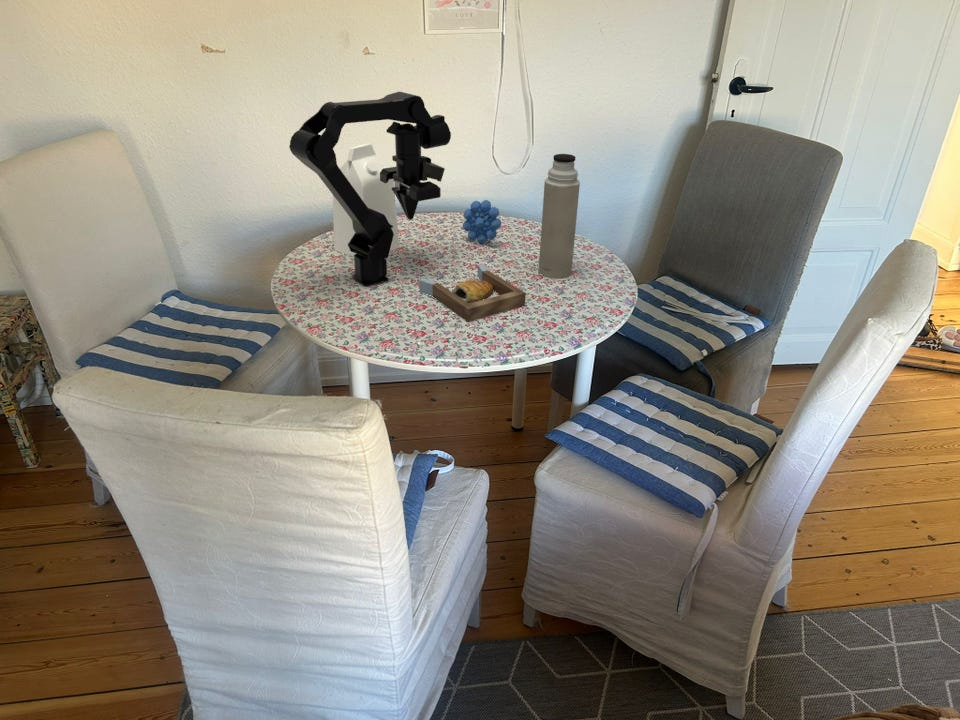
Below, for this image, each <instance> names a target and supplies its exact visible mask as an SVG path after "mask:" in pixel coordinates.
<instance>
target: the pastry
mask: <svg viewBox="0 0 960 720" xmlns="http://www.w3.org/2000/svg"><path fill="white" fill-rule="evenodd" d="M451 292H452V293H454V294H455V295H457V296H458V297H460V298H461V299H463V300H464V301H466V302H467V303H468V304H470V303H474V302H477V301H481V300H483V299H484V300H485V298H486V299H488V298H489V297H490V296H491V295H492V294H493V286H492V285H491V284H490V283H488V282H487V281H480V279H478V280H477V279H475V280H473V279H472V280H467V279H466V280H465V281H462V282H458V283H457V284H456V285H455V287H454V288H453V290H452V291H451ZM488 296H489V297H488Z"/></svg>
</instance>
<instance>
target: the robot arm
mask: <svg viewBox="0 0 960 720" xmlns="http://www.w3.org/2000/svg"><path fill="white" fill-rule="evenodd" d="M445 119H446V118H445V115H442V114H441V115H440V114H436V115H433V116H431V115H430V113H429V111H428V110H427V108H426V107H425V102H424V100H423V98H422V97H421V96H419V95H416V94H411V93H407V92H403V91H395V92H393V93H390V94H386V95H385V96H383V97H382V98H379V99H368V100H367V99H366V100H355V101H342V102H341V101H340V102H333V101H328V102H325V103H324V104H323V105H321V107H320V108H319V110H318V111H317V112H316V113H315V114H314V115H311V117H310V118H308V119H307V120H306V121H304V122H303V124H302V125H301V127H300V128H299V129H298V130H296V131H295V132H294V133H293V135H292V136H291V137H290V140H289V147H288V148H289V149H290V152H291V154H292V155H293V156H294V157H295V158H296V159H297V160H298V161H300V162H301V163H302V164H303V165H304V166H306V167H307V168H308V169H310V170H311V171H313V173H315V174H316V175H317V176H318V177H319V179H320V180H321V181H322V183H323V184H324V185H325V186H326V187H327V190H329V191H330V193H331V195H332V197H333V196H334V197H335V198H336V199H337V201H338V202H339V203H340V205H341V206H342V207H343V209H344V210H345V211H346V213H347V214H348V215H349V217H350V218H351V219H352V223H353V229H354V231H355V234H354V236H353V237H352V239H351V240H350V242H349V243H348V247H349V249H350V251H351V252H354V253H356V254H355V255H354V257H353V260H354V262H353V263H354V274H352V278H353V279H354V280H355V281H356V282H358V283H359V284H360V285H361V286H363V287H368V286H373V285H377V284H381V283H385V282H389V281H390V280H389V277H387V275H388V269H387V268H388V266H387V265H388V264H387V263H388V261H387V258H388V257H389V255H390V252H391V251H390V247H391V243H392V240H393V236H394V233H393V231H392V229H391V228H393V226H392V225H390V224H389V222H388V221H387V218H386V217H385V215H384V214H382V213H379V212H377V211H375V210H372V209H370V208H368V207H367V206H366V204H365V203H364V202H363V200H362V199H361V198H360V196H359V195H358V193H357V192H356V191H355V189H354V188H353V186H352V185H351V184H350V182H349V181H348V180H347V178H346V177H345V175H344V174H343V173H342V171H341V170H340V168H341V167H339V166H338V164H337V163H338V161H337V155H336V152H335V150H334V148H335V147H336V145H337V144H338V142H339V140H340V136H341V133H342V129H343V127H344V126H345V125H346V124H353V123H355V124H356V123H365V122H374V121H375V122H377V121H385V120H388V121H389V120H390V121H392V124H391V125H390V126H388V127H387V129H386V133H387V134H390V135H394V140H395V143H394V144H395V146H394V147H395V155H392V156H391V157H392V161H393V162H394V163H395V166H391V167H386V168H383V169H382V171H381V172H380V181H382V182H384V183H388V181H389V179H393V181H394V187H393V188H392V191H393V192H394V193H395V198H396V199H397V200H398V203H399V204H400V207H401V209H402V210H403V212H404V215H405V216H406V218H407V219H408V220H410V221H411V220H414V217H415V213H416V212H417V211H416V210H417V208H418V204H419V202H423V201H427V200H428V201H429V200H433V199H439V198H441V195H442V193H441V187H440V186H439V185H438V184H436V183H434V182H432V181H428V179H432V180H435V181H437V182H439V183H441V182H442V179H443V176H444V173H445V170H446V168H444V167H443V166H440V165H438V164H436V163H434V162H432V158H430V157H428V156H425V155H422V148H423V149H424V150H429V149H434V148H439V147H444V146H447V145H448V144H449V143H450V141H451V136H452V132H451V131H450V127H449V125H448V123H447V122H446V121H445ZM400 122H403V123H400ZM413 124H415V125H413ZM321 132H322V134H320V133H321Z"/></svg>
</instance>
